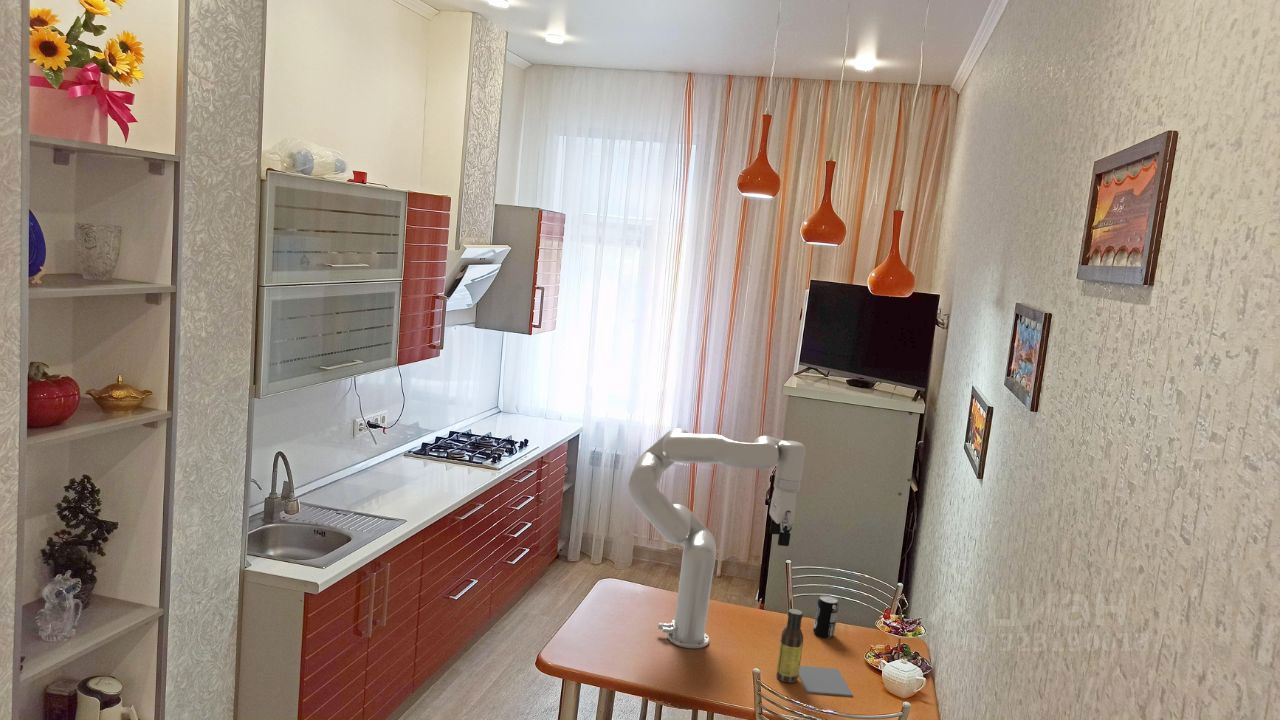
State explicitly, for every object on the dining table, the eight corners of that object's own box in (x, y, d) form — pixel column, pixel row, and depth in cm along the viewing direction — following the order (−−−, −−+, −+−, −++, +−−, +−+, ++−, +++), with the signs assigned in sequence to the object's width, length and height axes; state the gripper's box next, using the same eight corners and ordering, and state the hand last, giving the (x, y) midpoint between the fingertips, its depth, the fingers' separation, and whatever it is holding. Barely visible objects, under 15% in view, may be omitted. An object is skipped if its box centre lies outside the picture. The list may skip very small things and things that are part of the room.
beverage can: (810, 629, 296) (815, 593, 294) (830, 630, 297) (835, 595, 295) (815, 638, 290) (821, 602, 288) (836, 639, 290) (841, 603, 288)
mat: (806, 692, 253) (806, 691, 253) (794, 666, 268) (794, 665, 268) (852, 696, 254) (852, 694, 254) (837, 670, 269) (838, 668, 269)
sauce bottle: (801, 683, 259) (812, 616, 256) (783, 685, 256) (793, 617, 253) (789, 671, 265) (799, 606, 262) (771, 673, 262) (780, 607, 259)
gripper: (767, 474, 276) (759, 528, 279) (782, 491, 259) (773, 549, 262) (791, 476, 277) (783, 530, 280) (808, 493, 260) (799, 551, 263)
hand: (778, 539), depth 271 cm, fingers open, 9 cm apart
